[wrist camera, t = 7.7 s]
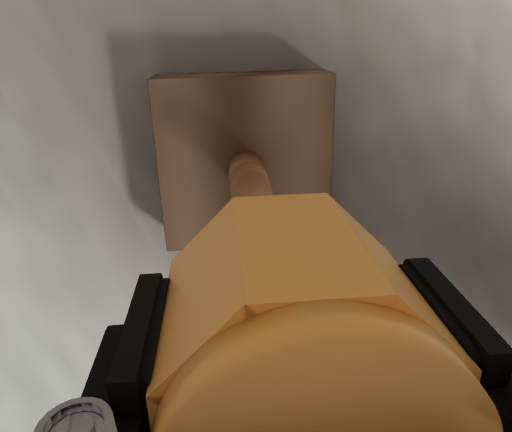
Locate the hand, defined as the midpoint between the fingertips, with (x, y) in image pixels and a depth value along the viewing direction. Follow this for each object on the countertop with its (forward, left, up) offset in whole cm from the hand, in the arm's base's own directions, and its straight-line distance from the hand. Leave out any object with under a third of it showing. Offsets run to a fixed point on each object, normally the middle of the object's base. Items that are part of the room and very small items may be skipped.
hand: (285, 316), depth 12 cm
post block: (0, 0, -18) cm, 18 cm away
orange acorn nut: (0, 0, -1) cm, 1 cm away
